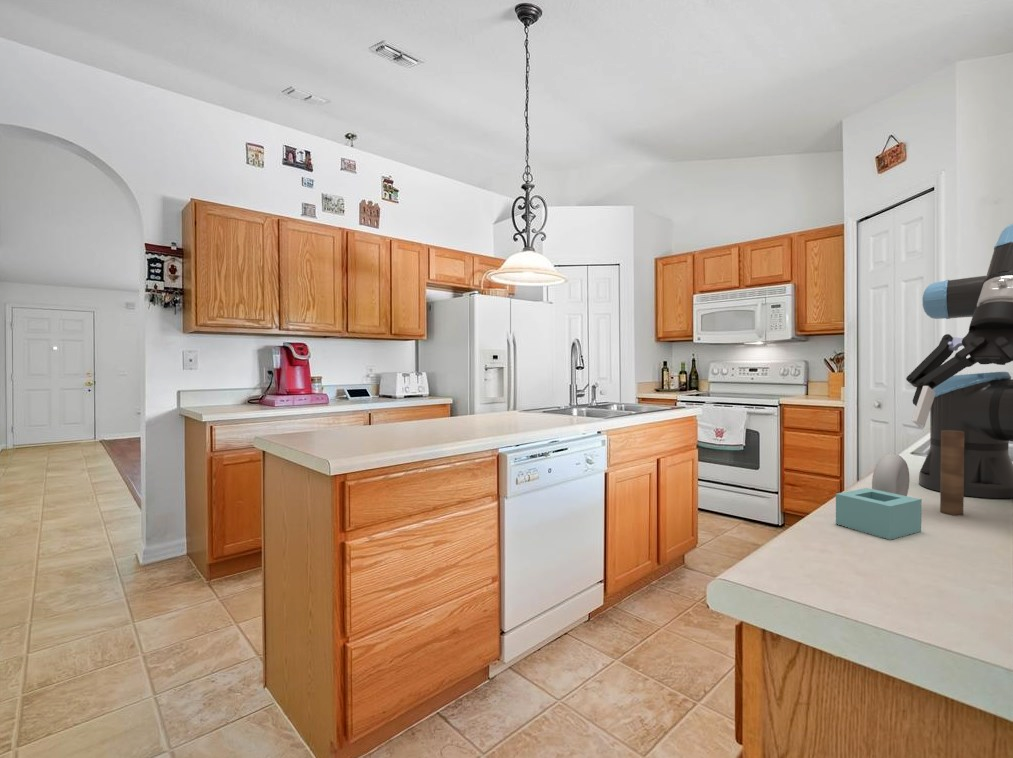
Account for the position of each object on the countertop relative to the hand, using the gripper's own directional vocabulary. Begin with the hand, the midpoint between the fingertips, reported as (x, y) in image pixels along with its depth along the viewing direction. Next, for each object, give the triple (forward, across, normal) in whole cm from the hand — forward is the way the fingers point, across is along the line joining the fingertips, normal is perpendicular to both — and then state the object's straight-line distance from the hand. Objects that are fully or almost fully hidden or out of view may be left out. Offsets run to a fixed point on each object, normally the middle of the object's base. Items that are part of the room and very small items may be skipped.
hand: (967, 430), depth 80 cm
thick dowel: (+11, -4, +13) cm, 17 cm away
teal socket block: (+19, -6, -4) cm, 21 cm away
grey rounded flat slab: (+14, -10, +7) cm, 19 cm away
